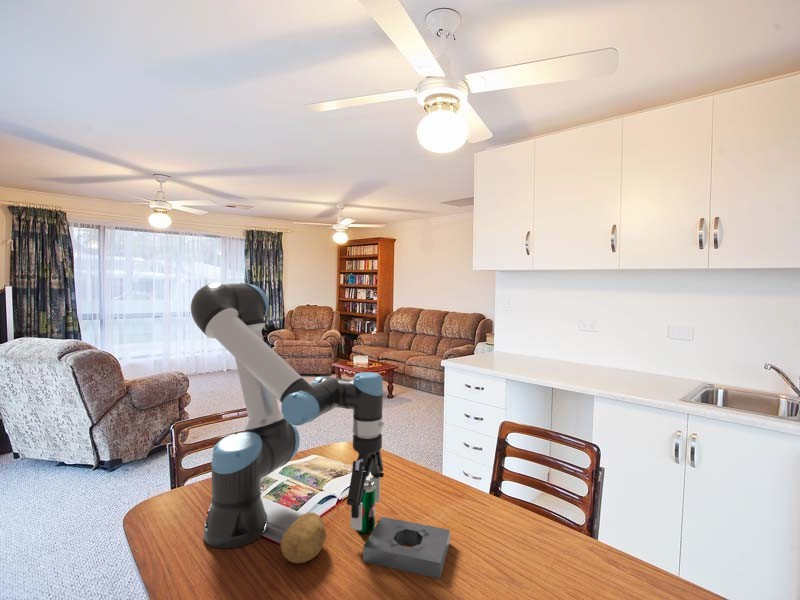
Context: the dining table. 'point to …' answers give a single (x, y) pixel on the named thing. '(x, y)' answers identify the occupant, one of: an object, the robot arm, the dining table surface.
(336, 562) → the dining table surface
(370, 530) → the soda can
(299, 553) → the potato
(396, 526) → the plate
